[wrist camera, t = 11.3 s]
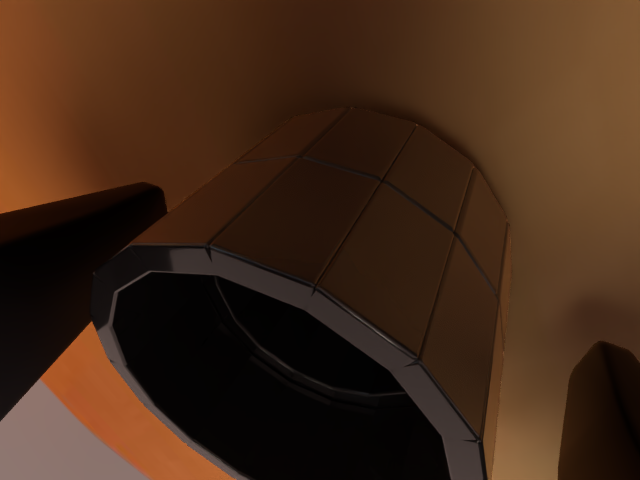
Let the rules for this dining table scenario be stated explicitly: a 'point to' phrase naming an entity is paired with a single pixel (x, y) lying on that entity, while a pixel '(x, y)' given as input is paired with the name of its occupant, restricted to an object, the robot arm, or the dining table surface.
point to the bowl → (322, 307)
